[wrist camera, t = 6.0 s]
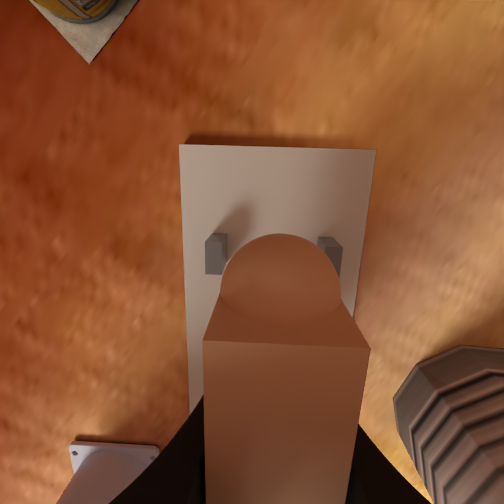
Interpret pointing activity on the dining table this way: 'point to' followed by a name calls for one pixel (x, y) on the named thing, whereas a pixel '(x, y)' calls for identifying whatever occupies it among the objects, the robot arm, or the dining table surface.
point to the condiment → (85, 21)
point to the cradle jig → (265, 218)
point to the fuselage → (281, 378)
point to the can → (456, 424)
